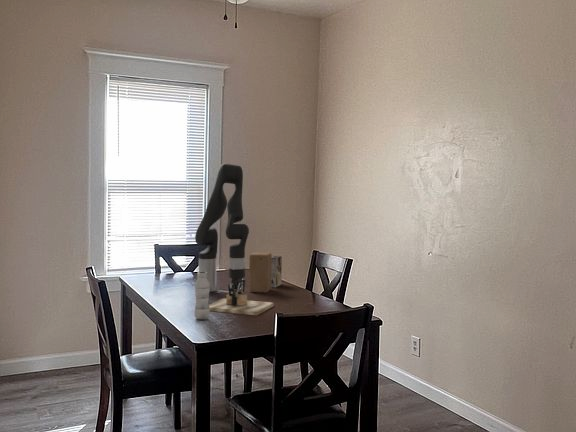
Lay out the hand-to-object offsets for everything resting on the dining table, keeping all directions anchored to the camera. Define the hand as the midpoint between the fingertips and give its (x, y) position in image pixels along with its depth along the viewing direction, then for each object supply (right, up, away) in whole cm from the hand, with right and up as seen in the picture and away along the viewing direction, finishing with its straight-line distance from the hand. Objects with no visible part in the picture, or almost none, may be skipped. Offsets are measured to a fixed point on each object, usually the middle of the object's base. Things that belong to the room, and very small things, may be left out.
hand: (236, 303), depth 269 cm
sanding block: (0, -1, 0) cm, 1 cm away
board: (+1, -2, 0) cm, 2 cm away
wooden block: (+9, +1, +40) cm, 41 cm away
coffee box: (+16, +2, +54) cm, 56 cm away
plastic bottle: (-13, -4, -21) cm, 25 cm away
